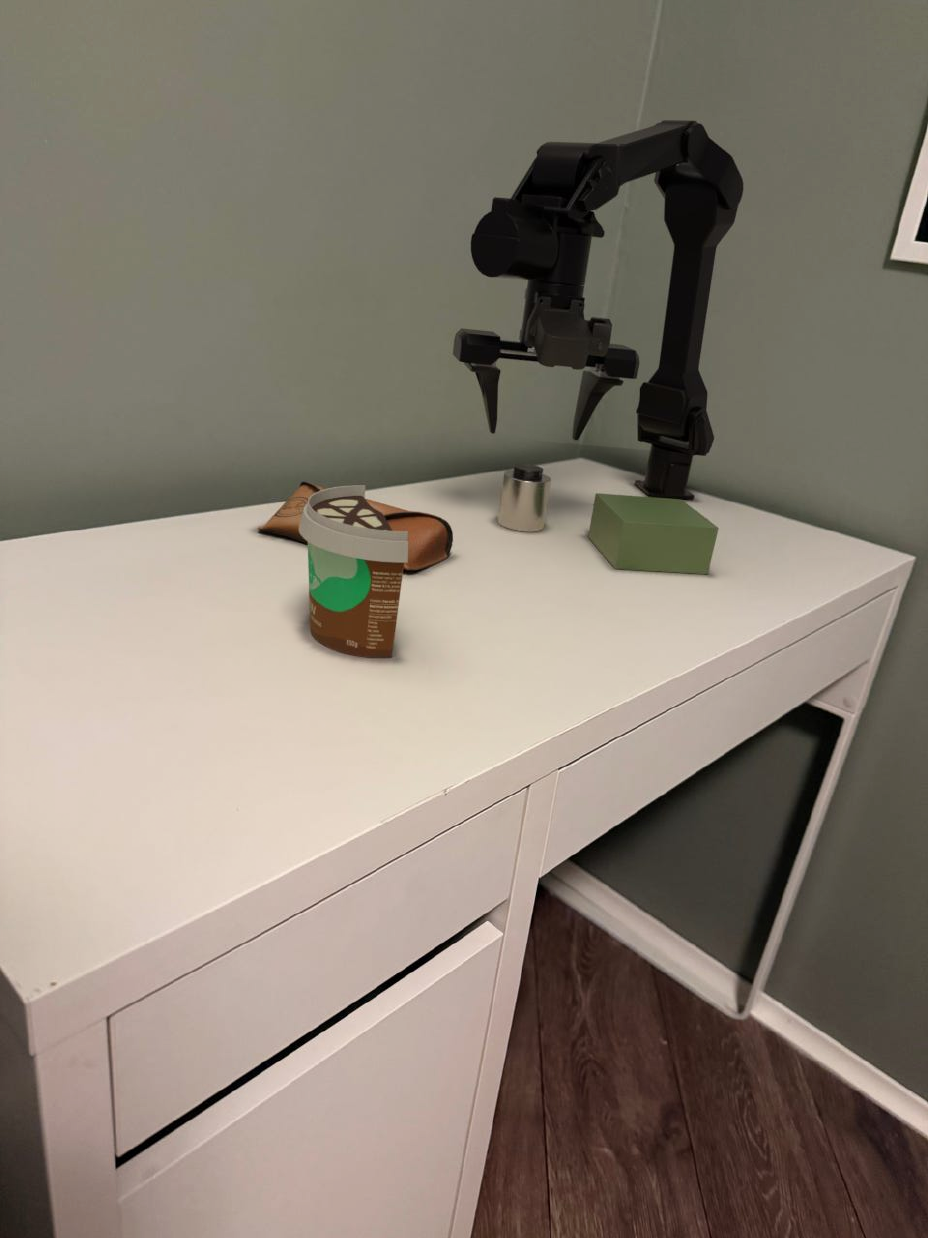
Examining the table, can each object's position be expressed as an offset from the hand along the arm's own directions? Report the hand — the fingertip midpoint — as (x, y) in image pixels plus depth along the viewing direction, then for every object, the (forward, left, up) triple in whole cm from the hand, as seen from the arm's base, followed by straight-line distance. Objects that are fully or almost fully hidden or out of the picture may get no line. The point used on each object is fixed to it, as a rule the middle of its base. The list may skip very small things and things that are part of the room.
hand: (534, 436), depth 96 cm
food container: (+31, -21, -10) cm, 39 cm away
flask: (0, 0, -10) cm, 10 cm away
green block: (+8, +12, -10) cm, 17 cm away
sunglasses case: (+10, -19, -10) cm, 24 cm away
